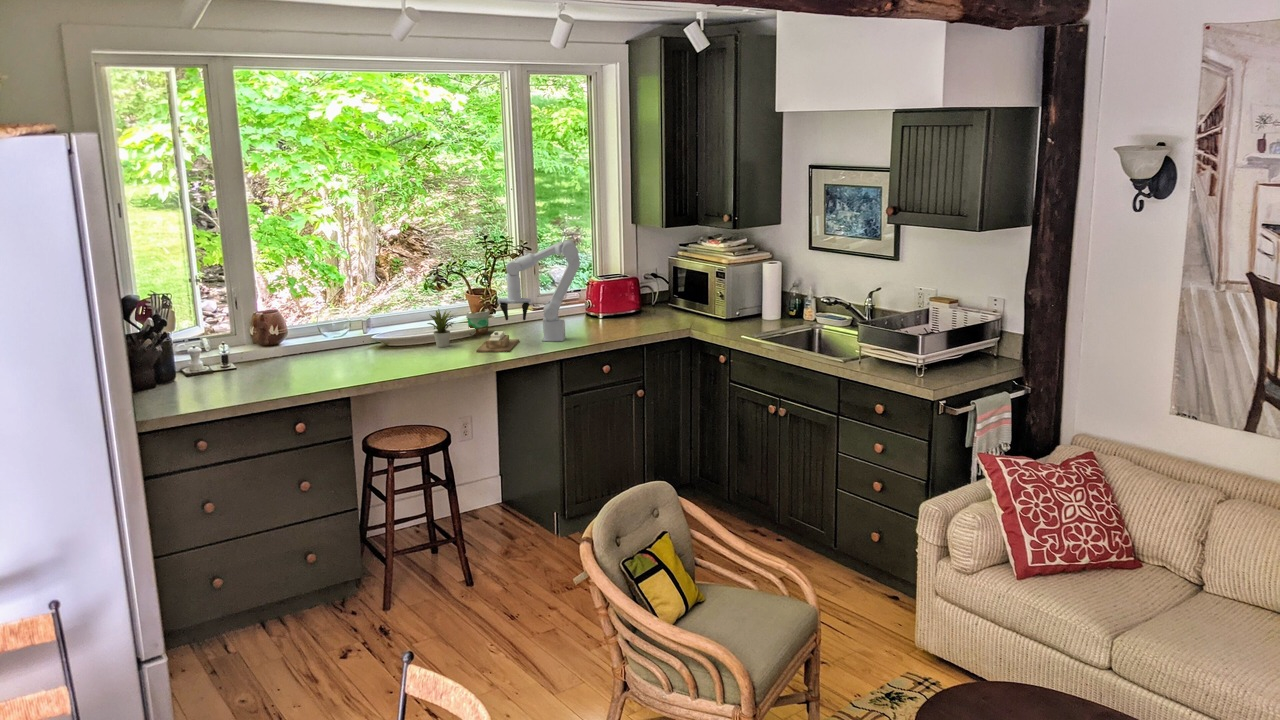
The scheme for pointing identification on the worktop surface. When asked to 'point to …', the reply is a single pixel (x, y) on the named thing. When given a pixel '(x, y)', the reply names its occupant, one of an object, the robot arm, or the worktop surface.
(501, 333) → the servo block
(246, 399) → the worktop surface
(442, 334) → the house plant
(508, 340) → the chassis board
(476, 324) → the food container
